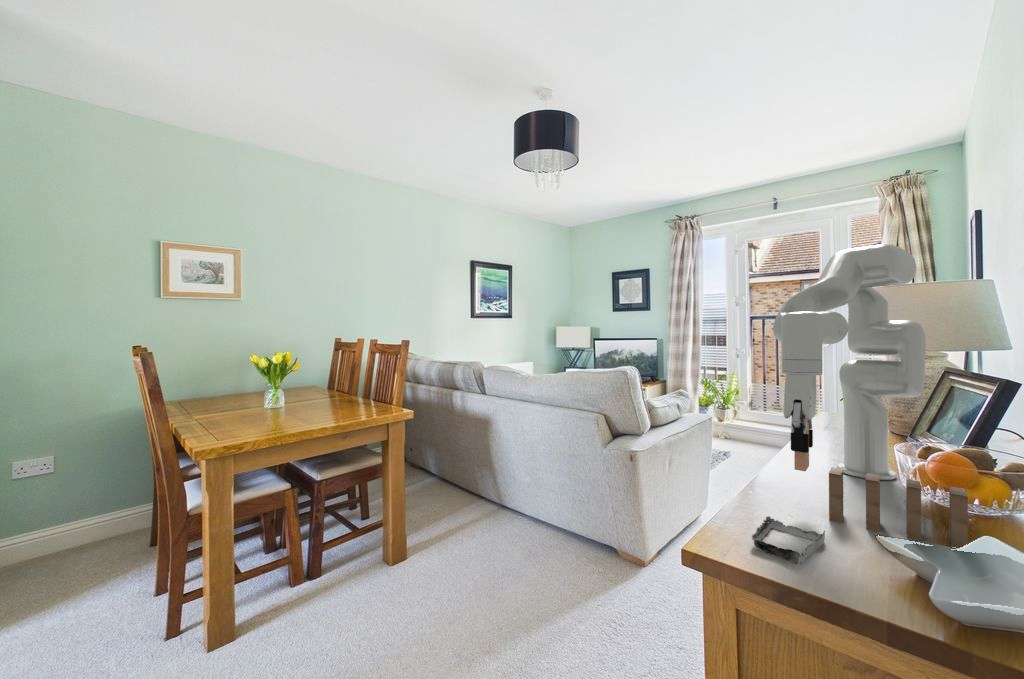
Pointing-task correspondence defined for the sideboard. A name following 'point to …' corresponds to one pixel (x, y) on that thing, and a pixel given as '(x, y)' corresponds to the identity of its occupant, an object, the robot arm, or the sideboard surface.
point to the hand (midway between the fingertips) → (801, 448)
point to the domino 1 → (802, 457)
